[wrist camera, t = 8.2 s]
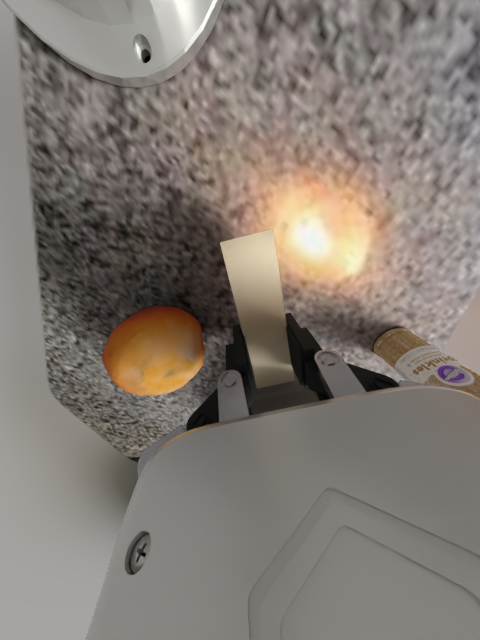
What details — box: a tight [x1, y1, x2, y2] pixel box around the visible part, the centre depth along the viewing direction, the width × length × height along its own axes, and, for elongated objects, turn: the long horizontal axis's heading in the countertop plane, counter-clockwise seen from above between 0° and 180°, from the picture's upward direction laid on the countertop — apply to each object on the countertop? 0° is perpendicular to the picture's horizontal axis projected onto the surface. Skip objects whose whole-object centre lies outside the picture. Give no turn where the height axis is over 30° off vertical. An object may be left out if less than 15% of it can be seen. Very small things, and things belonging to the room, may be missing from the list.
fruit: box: [102, 305, 205, 396], centre depth 16 cm, size 8×8×8 cm
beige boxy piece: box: [220, 229, 318, 415], centre depth 11 cm, size 11×6×7 cm, turn 12°
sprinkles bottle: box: [374, 328, 480, 398], centre depth 16 cm, size 5×5×14 cm
